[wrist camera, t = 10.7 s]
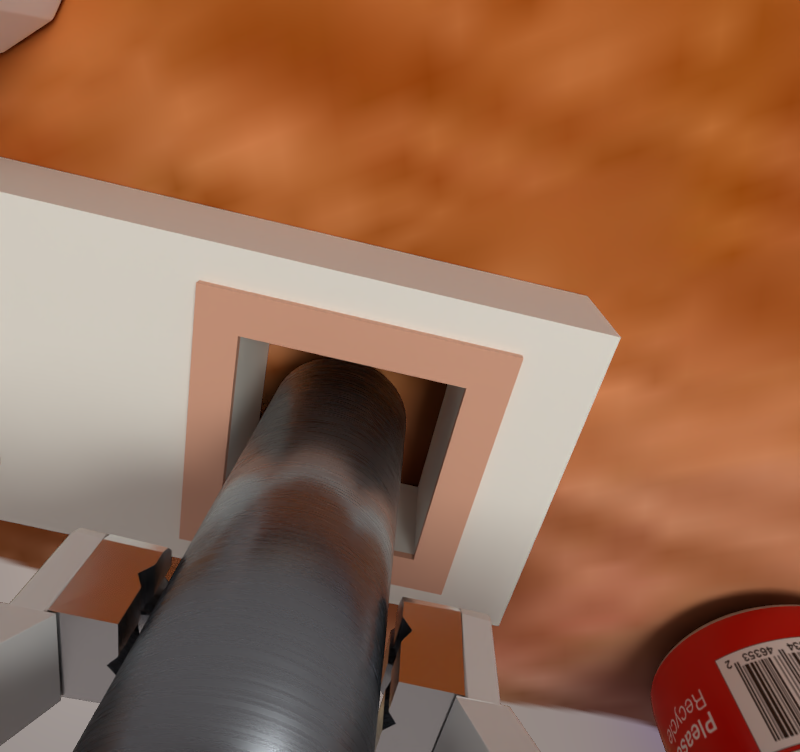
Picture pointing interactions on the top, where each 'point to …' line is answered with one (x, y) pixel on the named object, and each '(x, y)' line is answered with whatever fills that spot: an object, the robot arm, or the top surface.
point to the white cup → (23, 19)
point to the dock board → (246, 366)
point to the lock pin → (277, 587)
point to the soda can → (733, 685)
